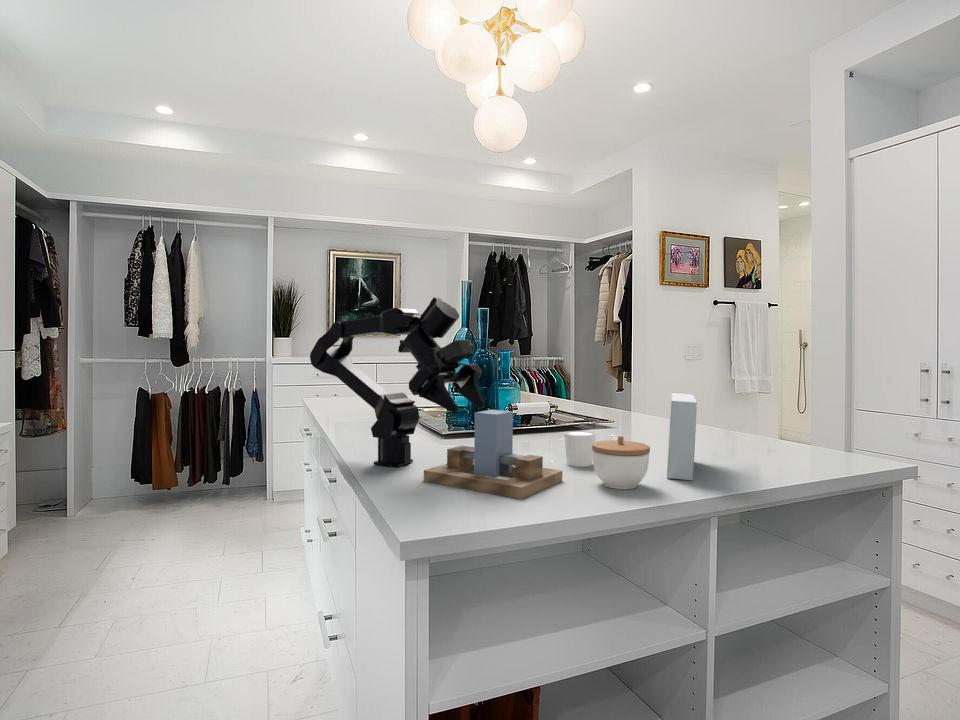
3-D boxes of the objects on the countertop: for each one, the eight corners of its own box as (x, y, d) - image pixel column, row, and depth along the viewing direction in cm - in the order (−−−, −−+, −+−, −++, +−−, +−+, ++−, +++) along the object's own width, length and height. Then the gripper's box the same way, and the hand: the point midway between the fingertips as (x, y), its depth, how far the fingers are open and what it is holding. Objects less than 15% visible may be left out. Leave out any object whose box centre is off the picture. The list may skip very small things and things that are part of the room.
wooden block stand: (423, 480, 110) (423, 452, 110) (470, 466, 123) (471, 441, 123) (521, 498, 98) (521, 467, 97) (562, 480, 111) (562, 452, 111)
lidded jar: (598, 492, 102) (599, 441, 102) (586, 478, 113) (586, 431, 113) (657, 492, 103) (658, 441, 102) (639, 478, 113) (640, 432, 113)
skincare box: (695, 482, 111) (697, 401, 111) (666, 479, 113) (668, 400, 113) (692, 461, 131) (693, 393, 131) (667, 459, 133) (668, 392, 132)
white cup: (562, 460, 130) (562, 430, 130) (592, 461, 130) (592, 430, 130) (565, 467, 123) (566, 435, 123) (597, 467, 123) (597, 435, 123)
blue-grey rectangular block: (495, 477, 106) (496, 414, 106) (474, 474, 109) (474, 412, 109) (512, 471, 111) (512, 411, 111) (491, 468, 114) (491, 409, 114)
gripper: (420, 324, 108) (466, 385, 102) (475, 327, 123) (518, 380, 117) (389, 364, 113) (432, 424, 107) (446, 362, 128) (486, 414, 122)
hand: (470, 409), depth 113 cm, fingers open, 9 cm apart
